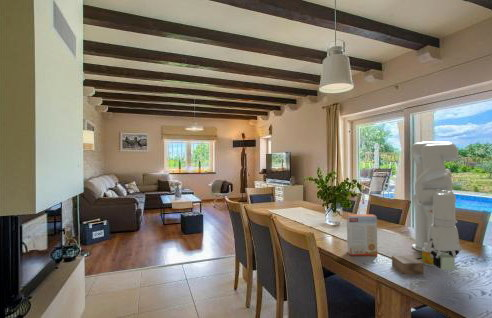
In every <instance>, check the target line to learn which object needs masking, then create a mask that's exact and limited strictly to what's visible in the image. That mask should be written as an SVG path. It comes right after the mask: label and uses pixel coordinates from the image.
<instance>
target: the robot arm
mask: <svg viewBox="0 0 492 318" xmlns="http://www.w3.org/2000/svg"><path fill="white" fill-rule="evenodd" d="M410 149H411V155H412V158H413V160H414V163H415V185H414V190H415V191H414V192H415V193H414V194H413V196H412V203H413V207H414V221H415V222H414V226H415V227H414V231H415V233H414V235H415V237H414V239H415V243H412V245H411V248H413V249H414V250H416V251H419V252H422V248H423V247H424V243H428V245H427V246H426V248H425V249H426V250H427V251H428V252H430V253H431V254H432V256H433V263H434V265H435V267H436V268H439V269H440V258H439V256H440V253H442V252H447V254H449V255H451V256H453V257H455V259H456V258H457V256H458V254H460V252H461V251H463V249H464V248H463V247H462V245H461V244H460V236H459V231H458V230H459V229H458V227H457V226H456V224H457V223H458V220H457V219H456V204H457V203H456V201H457V197H456V196H457V195H456V194H455V193H454V192H453V182H452V177H451V175H450V174H448V173H446V172H447V170H446V164H445V162H454V161H457V159H458V157H459V150H458V147H457V146H456V145H455V144H454V143H453V142H451V141H421V142H416V143H413V144H412V146H411V147H410ZM431 211H432V212H431ZM431 248H433V251H432V250H431Z"/></svg>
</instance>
